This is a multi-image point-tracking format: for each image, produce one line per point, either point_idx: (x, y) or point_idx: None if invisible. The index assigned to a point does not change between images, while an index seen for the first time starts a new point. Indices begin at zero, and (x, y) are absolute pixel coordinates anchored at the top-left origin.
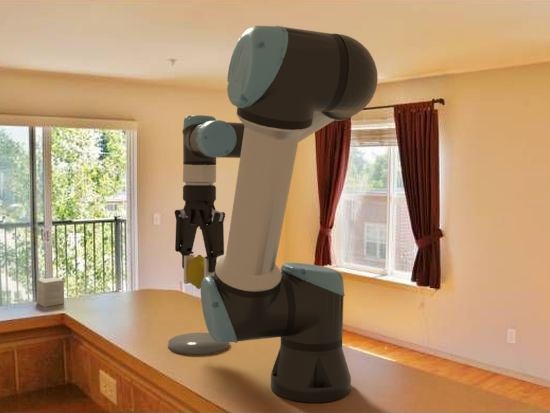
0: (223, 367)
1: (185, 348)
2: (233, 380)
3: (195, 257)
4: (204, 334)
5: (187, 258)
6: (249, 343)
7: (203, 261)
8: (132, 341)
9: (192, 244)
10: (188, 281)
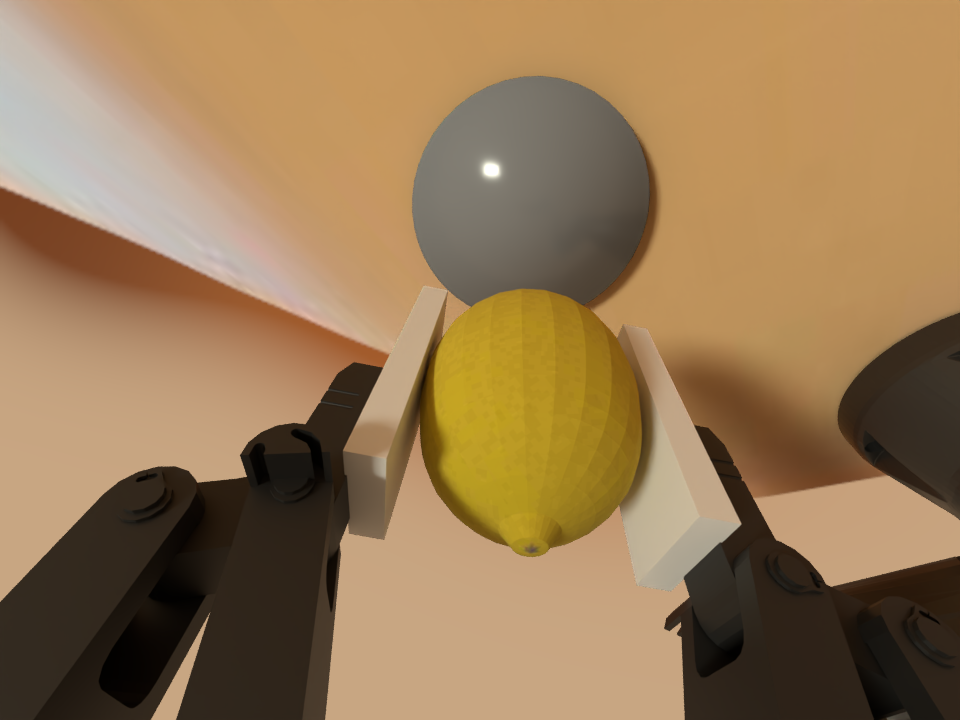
0: (684, 354)
1: None
2: (731, 411)
3: (502, 544)
4: (500, 119)
5: (392, 504)
6: (729, 75)
7: (603, 521)
8: (307, 275)
9: (315, 637)
10: None
